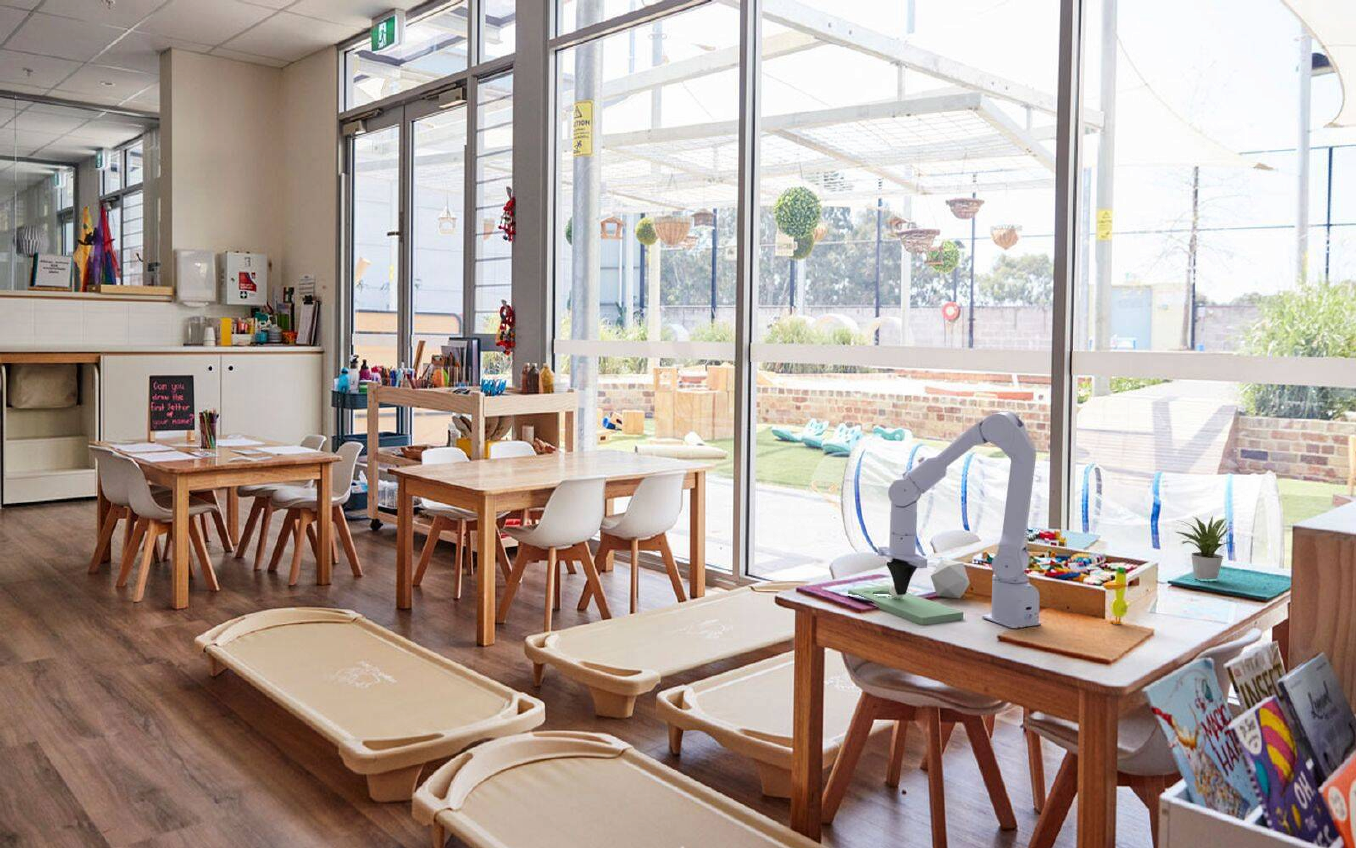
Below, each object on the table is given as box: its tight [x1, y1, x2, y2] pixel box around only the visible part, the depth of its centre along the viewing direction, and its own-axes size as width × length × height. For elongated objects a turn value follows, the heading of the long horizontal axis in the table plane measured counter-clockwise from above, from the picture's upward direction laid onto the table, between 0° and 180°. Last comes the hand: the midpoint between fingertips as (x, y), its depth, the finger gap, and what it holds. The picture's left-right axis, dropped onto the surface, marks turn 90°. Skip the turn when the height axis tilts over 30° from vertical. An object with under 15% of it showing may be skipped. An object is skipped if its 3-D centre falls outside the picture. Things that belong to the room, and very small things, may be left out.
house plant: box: [1176, 515, 1236, 580], centre depth 269 cm, size 14×14×16 cm
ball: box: [889, 583, 905, 599], centre depth 239 cm, size 4×4×4 cm
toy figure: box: [1101, 566, 1130, 625], centre depth 226 cm, size 7×4×12 cm, turn 106°
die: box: [930, 560, 971, 599], centre depth 248 cm, size 8×9×10 cm
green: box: [847, 585, 964, 626], centre depth 238 cm, size 26×11×2 cm, turn 27°
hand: (900, 594), depth 238 cm, fingers closed, pressing on ball
